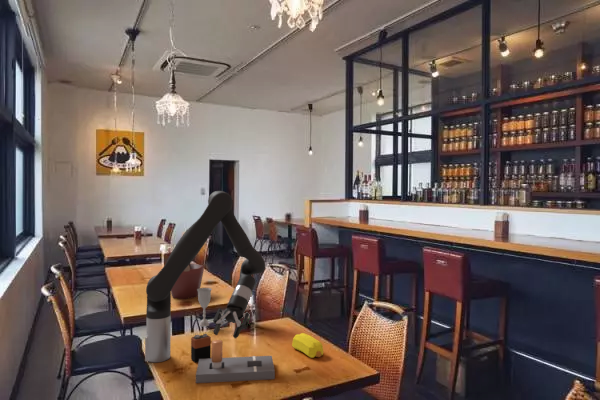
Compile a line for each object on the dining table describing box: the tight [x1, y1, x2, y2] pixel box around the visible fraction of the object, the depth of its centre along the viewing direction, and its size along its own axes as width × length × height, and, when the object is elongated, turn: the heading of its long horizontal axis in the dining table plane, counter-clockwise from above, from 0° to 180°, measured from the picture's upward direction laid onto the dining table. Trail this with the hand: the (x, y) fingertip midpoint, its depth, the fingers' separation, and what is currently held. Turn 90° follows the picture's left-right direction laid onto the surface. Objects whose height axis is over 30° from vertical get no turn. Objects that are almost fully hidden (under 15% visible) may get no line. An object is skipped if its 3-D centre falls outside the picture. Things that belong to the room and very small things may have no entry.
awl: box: [211, 339, 223, 369], centre depth 158 cm, size 4×4×12 cm
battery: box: [190, 333, 212, 363], centre depth 171 cm, size 4×7×10 cm, turn 126°
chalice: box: [197, 287, 213, 328], centre depth 213 cm, size 7×7×18 cm
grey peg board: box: [195, 355, 276, 384], centre depth 159 cm, size 28×14×3 cm, turn 98°
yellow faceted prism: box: [291, 332, 324, 359], centre depth 180 cm, size 18×7×8 cm
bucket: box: [171, 263, 205, 300], centre depth 269 cm, size 24×22×25 cm
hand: (224, 335), depth 163 cm, fingers open, 8 cm apart
